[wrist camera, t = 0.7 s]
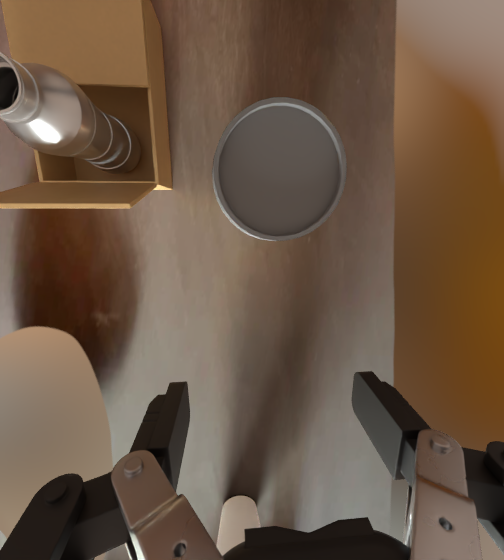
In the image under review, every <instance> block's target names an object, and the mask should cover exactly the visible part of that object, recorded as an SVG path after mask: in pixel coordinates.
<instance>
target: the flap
mask: <svg viewBox="0 0 504 560" xmlns="http://www.w3.org/2000/svg"><path fill="white" fill-rule="evenodd" d="M156 187H157V183H98V182H34V183H31V184H27V185H24V186H20V187H17V188H13V189H10V190H6V191H3V192H0V208H131V207H133V206H134V205H135V204H136V203H137V202H139V201H140V200H141V199H142V198H144V197H145V196H146V195H147V194H148V193H150V192H151V191H152V190H153V189H155V188H156Z"/></svg>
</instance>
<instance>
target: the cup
mask: <svg viewBox="0 0 504 560" xmlns="http://www.w3.org/2000/svg"><path fill="white" fill-rule="evenodd" d="M250 528H260V522H259V517H258V513H257V508H256V504H255V502H254V501H253V500H252V499H251V498H249V497H247V496H235V497H232V498H230V499H228V500H227V501H226V502H225V503H224V505H223V508H222V515H221V521H220V527H219V533H218V540H217V546H216V547H217V548H218V550H219V552H220V553H221V555H222V556H223V555H224V554H225V553H226V552H228V551H229V550H230V549H231V548H233V547H235V546H236V545H238V544H240V543H242V542H244V541H245V532H244V529H250Z"/></svg>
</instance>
